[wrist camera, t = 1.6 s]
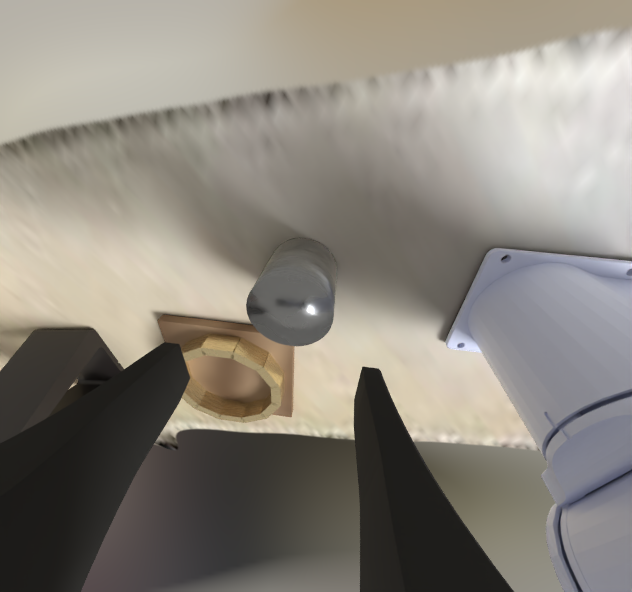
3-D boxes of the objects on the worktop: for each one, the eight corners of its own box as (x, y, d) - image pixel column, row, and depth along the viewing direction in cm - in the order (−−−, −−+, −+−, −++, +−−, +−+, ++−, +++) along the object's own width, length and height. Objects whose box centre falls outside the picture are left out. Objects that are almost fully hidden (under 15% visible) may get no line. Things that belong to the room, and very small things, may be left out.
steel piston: (340, 241, 16) (338, 281, 12) (333, 301, 19) (329, 350, 15) (269, 234, 16) (242, 270, 12) (271, 294, 19) (249, 340, 15)
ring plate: (294, 330, 21) (288, 351, 19) (292, 410, 27) (288, 432, 25) (163, 314, 21) (143, 334, 19) (190, 396, 27) (178, 417, 25)
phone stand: (140, 391, 28) (24, 538, 18) (92, 389, 29) (-45, 528, 19) (94, 327, 23) (-100, 480, 13) (38, 327, 24) (-185, 471, 14)
